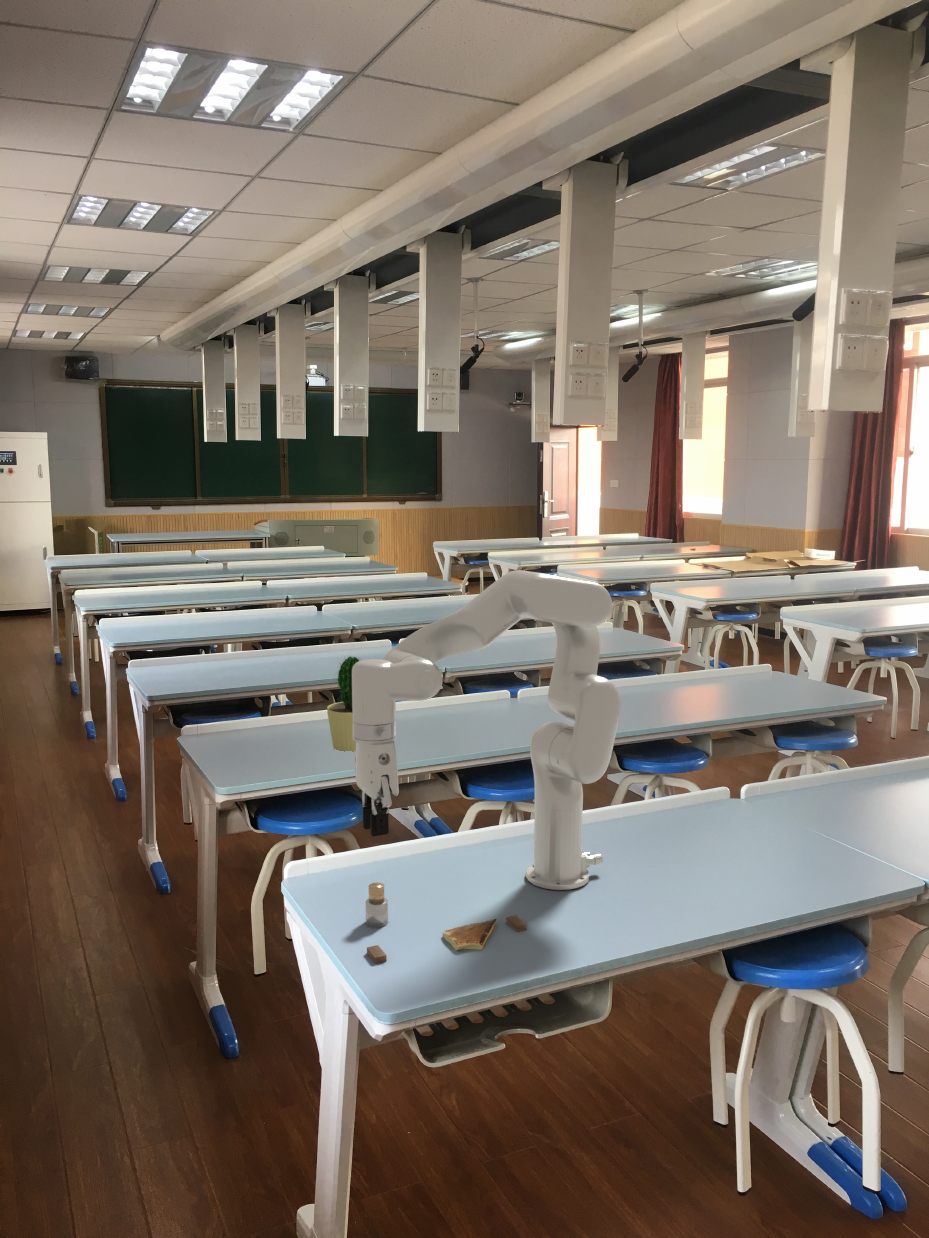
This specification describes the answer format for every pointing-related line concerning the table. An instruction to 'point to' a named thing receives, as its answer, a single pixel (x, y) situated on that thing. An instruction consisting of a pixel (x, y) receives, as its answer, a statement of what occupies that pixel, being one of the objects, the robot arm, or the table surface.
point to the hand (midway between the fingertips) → (375, 830)
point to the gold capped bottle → (376, 906)
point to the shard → (469, 935)
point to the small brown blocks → (380, 956)
